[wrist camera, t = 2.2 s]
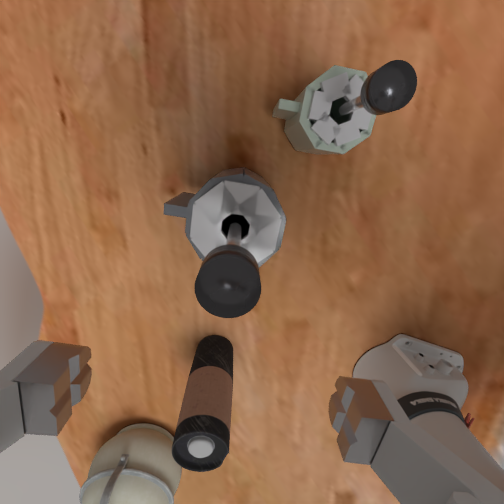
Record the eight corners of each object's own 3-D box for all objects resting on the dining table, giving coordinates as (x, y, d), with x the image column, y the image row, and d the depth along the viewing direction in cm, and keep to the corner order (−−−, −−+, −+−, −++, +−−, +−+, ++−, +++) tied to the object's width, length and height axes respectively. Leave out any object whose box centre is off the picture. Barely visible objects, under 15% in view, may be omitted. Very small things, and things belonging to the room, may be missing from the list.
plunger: (256, 214, 27) (266, 263, 14) (250, 248, 28) (254, 321, 16) (219, 207, 27) (198, 253, 14) (215, 242, 28) (191, 313, 15)
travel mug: (189, 340, 54) (160, 440, 35) (226, 328, 53) (216, 424, 34) (204, 369, 56) (184, 478, 37) (239, 359, 55) (237, 464, 36)
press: (275, 172, 44) (295, 183, 26) (263, 235, 47) (274, 282, 30) (193, 157, 42) (157, 158, 25) (186, 223, 46) (151, 264, 29)
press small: (343, 100, 40) (391, 74, 27) (329, 157, 43) (366, 157, 30) (275, 86, 40) (291, 52, 27) (265, 145, 42) (274, 140, 29)
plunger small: (362, 96, 28) (423, 65, 18) (353, 128, 28) (407, 114, 19) (333, 90, 27) (380, 55, 18) (325, 122, 28) (366, 106, 19)
